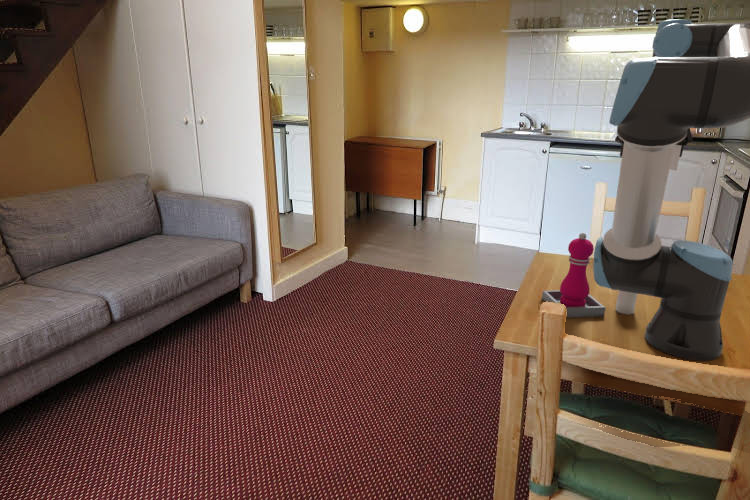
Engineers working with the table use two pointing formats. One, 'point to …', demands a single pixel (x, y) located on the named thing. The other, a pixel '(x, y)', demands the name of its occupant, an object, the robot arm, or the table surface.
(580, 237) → the pepper mill
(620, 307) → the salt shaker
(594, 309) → the tray
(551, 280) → the table surface
